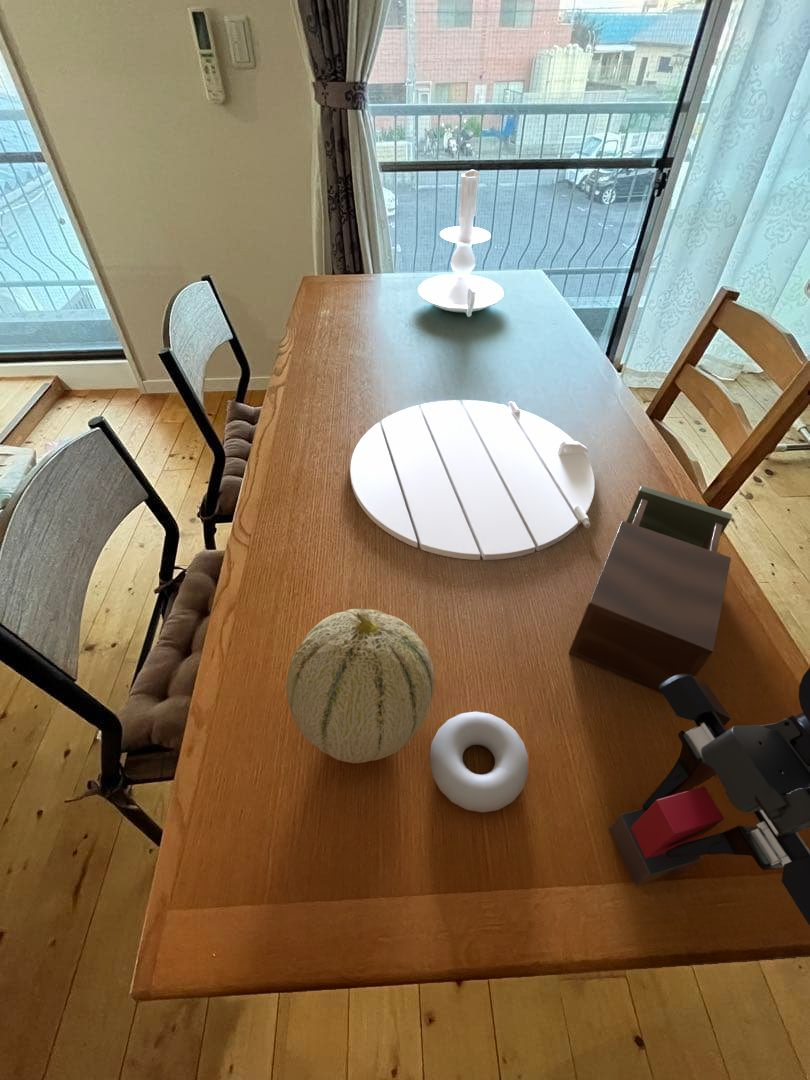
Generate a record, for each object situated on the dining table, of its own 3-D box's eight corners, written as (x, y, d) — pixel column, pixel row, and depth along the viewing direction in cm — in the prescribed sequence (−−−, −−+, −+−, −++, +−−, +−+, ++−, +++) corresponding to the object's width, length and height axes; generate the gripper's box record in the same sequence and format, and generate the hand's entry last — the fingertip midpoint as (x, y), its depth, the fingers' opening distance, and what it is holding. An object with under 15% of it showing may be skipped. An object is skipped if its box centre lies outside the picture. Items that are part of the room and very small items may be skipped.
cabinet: (600, 573, 76) (622, 520, 68) (697, 609, 71) (731, 557, 64) (568, 653, 67) (589, 602, 59) (676, 700, 62) (713, 651, 55)
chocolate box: (674, 814, 50) (704, 785, 45) (691, 845, 49) (725, 818, 44) (629, 827, 49) (656, 799, 44) (645, 859, 48) (674, 834, 43)
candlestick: (425, 332, 125) (431, 190, 105) (413, 288, 142) (415, 158, 122) (515, 329, 126) (537, 188, 106) (492, 285, 143) (507, 157, 123)
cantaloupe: (304, 800, 55) (281, 733, 44) (290, 672, 65) (269, 591, 54) (448, 765, 57) (460, 694, 46) (413, 647, 67) (416, 565, 56)
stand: (654, 815, 54) (669, 800, 51) (684, 871, 51) (702, 859, 48) (608, 828, 53) (620, 814, 50) (635, 886, 50) (650, 875, 47)
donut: (443, 709, 62) (416, 797, 55) (445, 693, 59) (417, 784, 52) (532, 737, 60) (516, 832, 53) (538, 722, 57) (522, 819, 50)
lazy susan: (542, 395, 107) (545, 378, 104) (644, 537, 80) (652, 520, 78) (336, 417, 101) (334, 401, 98) (373, 579, 74) (372, 562, 72)
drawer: (629, 511, 83) (647, 468, 77) (710, 538, 79) (735, 494, 73) (598, 592, 72) (616, 549, 66) (689, 628, 68) (717, 585, 62)
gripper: (724, 614, 42) (560, 715, 48) (946, 890, 30) (687, 980, 36) (763, 649, 49) (616, 733, 55) (955, 884, 37) (738, 960, 43)
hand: (656, 831), depth 47 cm, fingers open, 3 cm apart
